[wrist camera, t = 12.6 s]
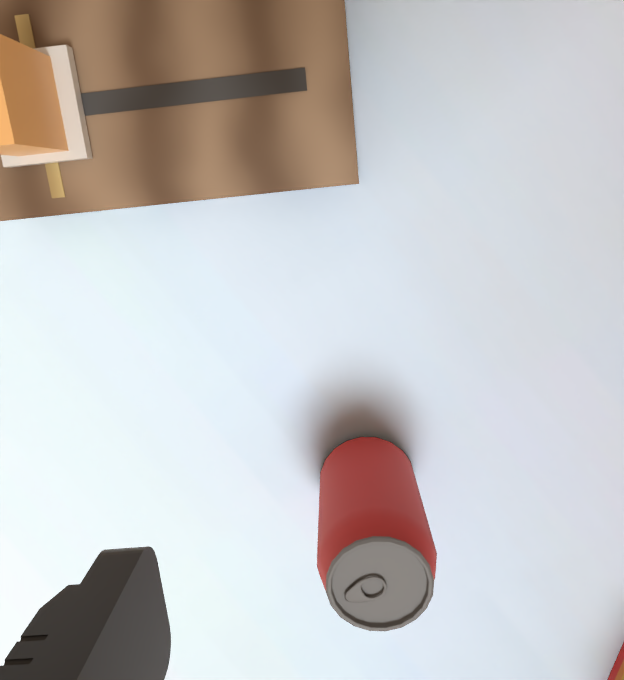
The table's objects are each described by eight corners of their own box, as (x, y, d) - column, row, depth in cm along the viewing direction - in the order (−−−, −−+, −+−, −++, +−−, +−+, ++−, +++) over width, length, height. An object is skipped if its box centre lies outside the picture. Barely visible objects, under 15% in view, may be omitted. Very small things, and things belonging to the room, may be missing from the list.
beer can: (304, 455, 42) (293, 560, 30) (389, 417, 41) (412, 510, 29) (344, 530, 43) (349, 658, 32) (428, 495, 42) (464, 613, 31)
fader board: (340, -33, 34) (340, -47, 32) (357, 183, 37) (358, 183, 35) (-30, 14, 35) (-52, 3, 33) (15, 219, 38) (-2, 221, 36)
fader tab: (72, 47, 33) (8, 14, 27) (92, 158, 35) (37, 152, 28) (-14, 58, 34) (-97, 27, 27) (10, 167, 35) (-64, 163, 29)
